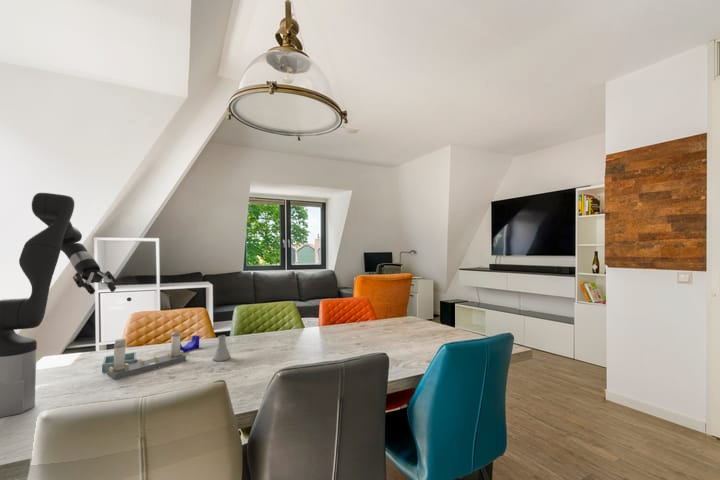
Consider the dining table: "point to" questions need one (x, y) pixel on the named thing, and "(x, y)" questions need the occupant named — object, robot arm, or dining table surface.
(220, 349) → the flask
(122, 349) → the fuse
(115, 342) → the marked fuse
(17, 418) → the dining table surface
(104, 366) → the tray
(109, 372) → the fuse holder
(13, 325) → the robot arm
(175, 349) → the fuse
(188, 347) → the blue shoe
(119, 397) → the dining table surface
